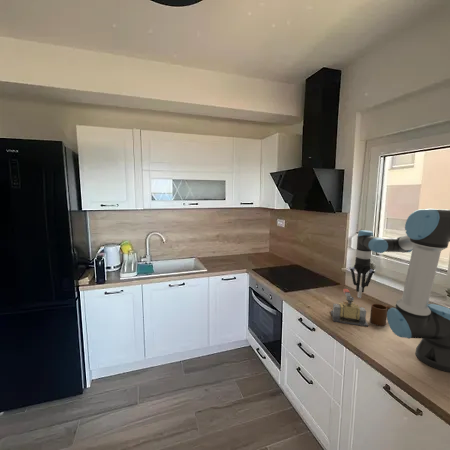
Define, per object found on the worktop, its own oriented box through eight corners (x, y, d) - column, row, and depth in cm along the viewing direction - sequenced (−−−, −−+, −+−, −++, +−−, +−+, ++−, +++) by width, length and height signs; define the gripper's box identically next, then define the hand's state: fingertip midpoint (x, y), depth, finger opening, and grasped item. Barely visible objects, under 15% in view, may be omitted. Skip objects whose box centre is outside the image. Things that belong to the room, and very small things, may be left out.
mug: (381, 317, 147) (383, 301, 146) (394, 323, 140) (396, 307, 139) (366, 320, 142) (368, 304, 141) (379, 327, 135) (381, 310, 134)
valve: (367, 326, 136) (369, 307, 134) (333, 321, 140) (335, 303, 139) (362, 316, 147) (364, 299, 146) (330, 311, 152) (332, 295, 150)
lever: (354, 302, 140) (354, 299, 140) (347, 301, 141) (347, 298, 141) (348, 291, 155) (349, 289, 155) (342, 291, 156) (342, 288, 156)
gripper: (373, 257, 147) (369, 296, 150) (349, 255, 151) (345, 293, 154) (378, 260, 140) (373, 301, 143) (352, 258, 144) (348, 298, 146)
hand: (359, 297), depth 148 cm, fingers closed
